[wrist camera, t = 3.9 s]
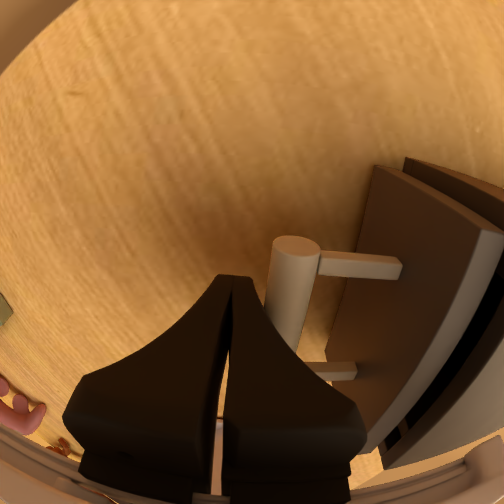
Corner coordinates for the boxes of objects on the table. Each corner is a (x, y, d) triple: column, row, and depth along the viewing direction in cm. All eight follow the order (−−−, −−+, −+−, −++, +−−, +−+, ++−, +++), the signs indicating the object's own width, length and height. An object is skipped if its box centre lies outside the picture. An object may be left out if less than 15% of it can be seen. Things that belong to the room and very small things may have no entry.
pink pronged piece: (-8, 355, 22) (-29, 393, 18) (-14, 354, 19) (-37, 397, 15) (49, 403, 26) (28, 441, 21) (50, 409, 23) (28, 451, 18)
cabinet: (348, 347, 17) (383, 471, 9) (405, 156, 11) (552, 231, 4) (479, 337, 17) (526, 414, 9) (536, 204, 12) (619, 263, 4)
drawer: (250, 347, 15) (247, 460, 9) (273, 148, 11) (298, 197, 5) (465, 342, 16) (505, 410, 10) (523, 208, 11) (597, 261, 5)
